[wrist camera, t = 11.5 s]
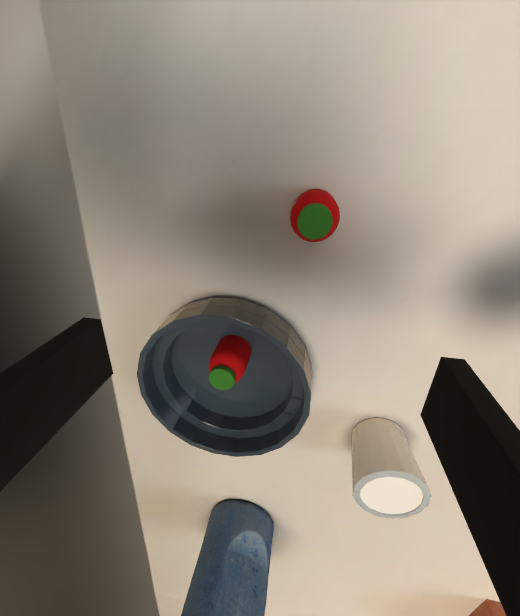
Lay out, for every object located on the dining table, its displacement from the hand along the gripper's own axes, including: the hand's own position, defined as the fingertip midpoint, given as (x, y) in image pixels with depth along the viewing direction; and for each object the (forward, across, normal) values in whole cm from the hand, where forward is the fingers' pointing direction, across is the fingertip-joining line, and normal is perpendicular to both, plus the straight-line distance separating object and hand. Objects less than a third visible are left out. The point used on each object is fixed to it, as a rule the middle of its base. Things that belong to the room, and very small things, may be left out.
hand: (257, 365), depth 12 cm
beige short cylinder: (+17, +12, -20) cm, 29 cm away
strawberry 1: (+16, -5, -10) cm, 20 cm away
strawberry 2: (+17, +2, +4) cm, 17 cm away
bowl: (+17, -5, -13) cm, 22 cm away
